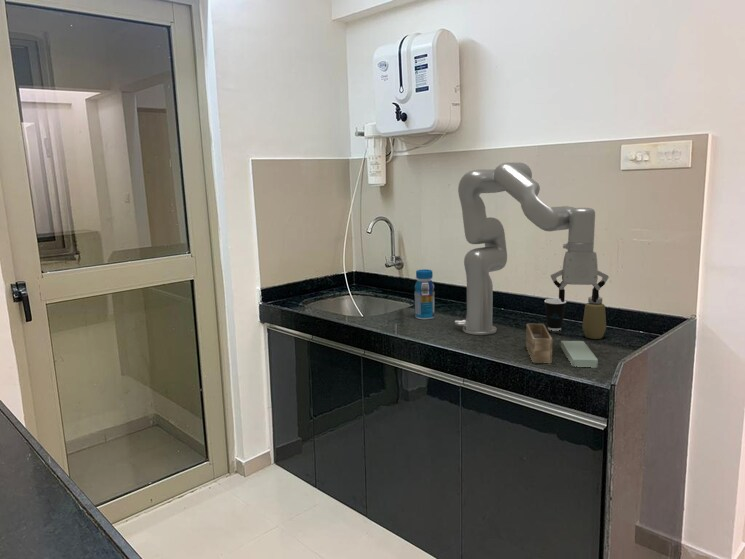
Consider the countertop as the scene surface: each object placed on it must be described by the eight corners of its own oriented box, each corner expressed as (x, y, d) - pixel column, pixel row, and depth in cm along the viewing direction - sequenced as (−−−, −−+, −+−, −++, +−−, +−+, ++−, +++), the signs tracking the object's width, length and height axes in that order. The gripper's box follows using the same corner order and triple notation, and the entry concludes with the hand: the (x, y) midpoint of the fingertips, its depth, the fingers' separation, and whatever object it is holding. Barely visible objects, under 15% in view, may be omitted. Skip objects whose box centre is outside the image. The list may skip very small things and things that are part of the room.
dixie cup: (551, 333, 208) (552, 304, 206) (539, 327, 215) (539, 299, 213) (569, 330, 210) (570, 302, 208) (557, 325, 218) (557, 297, 216)
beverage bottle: (410, 318, 236) (409, 271, 232) (422, 314, 242) (421, 268, 239) (427, 321, 230) (426, 272, 227) (438, 316, 237) (438, 270, 233)
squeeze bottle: (577, 334, 205) (579, 286, 202) (599, 333, 206) (601, 285, 202) (588, 340, 197) (590, 290, 194) (610, 339, 198) (612, 289, 194)
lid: (572, 367, 170) (573, 359, 170) (561, 347, 190) (561, 340, 189) (597, 368, 169) (598, 360, 169) (583, 348, 189) (583, 341, 188)
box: (532, 363, 175) (532, 338, 173) (525, 346, 193) (526, 323, 191) (551, 364, 174) (552, 339, 172) (543, 346, 192) (543, 323, 190)
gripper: (553, 249, 173) (551, 303, 176) (613, 249, 170) (609, 304, 173) (550, 246, 180) (548, 298, 183) (606, 246, 178) (603, 299, 181)
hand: (578, 301), depth 178 cm, fingers open, 9 cm apart
